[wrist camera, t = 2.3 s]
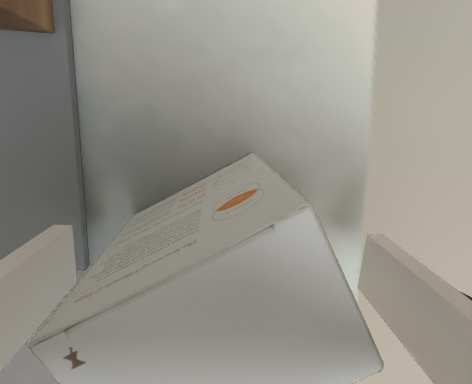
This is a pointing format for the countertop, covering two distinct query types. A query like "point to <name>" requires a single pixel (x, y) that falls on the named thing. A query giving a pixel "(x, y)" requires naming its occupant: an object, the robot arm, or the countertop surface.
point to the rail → (27, 16)
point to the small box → (214, 295)
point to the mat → (40, 137)
